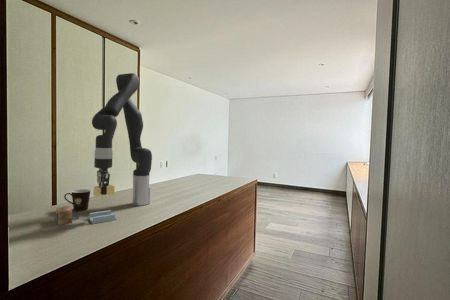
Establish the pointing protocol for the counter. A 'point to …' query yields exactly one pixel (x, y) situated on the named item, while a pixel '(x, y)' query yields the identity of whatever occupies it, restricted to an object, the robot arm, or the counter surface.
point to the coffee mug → (80, 199)
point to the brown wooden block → (64, 215)
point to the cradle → (101, 217)
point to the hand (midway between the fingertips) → (102, 193)
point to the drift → (74, 217)
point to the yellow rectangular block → (98, 190)
